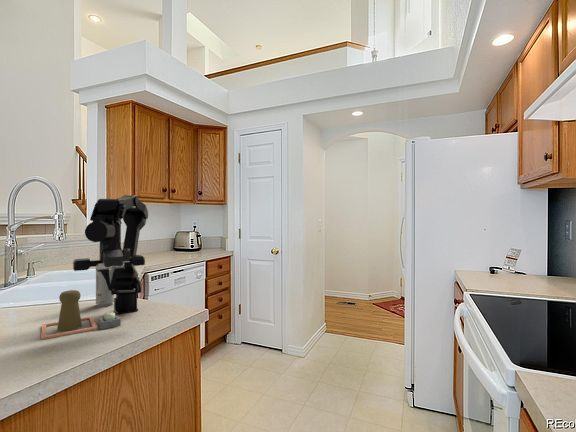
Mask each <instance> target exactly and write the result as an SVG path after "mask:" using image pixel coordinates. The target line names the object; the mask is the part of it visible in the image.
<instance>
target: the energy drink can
mask: <svg viewBox="0 0 576 432" xmlns="http://www.w3.org/2000/svg"><path fill="white" fill-rule="evenodd" d="M111 267H112V266H111ZM111 267H107V268H108V269H109V278H110V277H111ZM114 298H115V294H114V295H111V291H109V290H108V288H107V285H106V282H105V279H104V277H103V275H102V273H101V272H97V271H96V270H95V304H96V305H97V307H109V306H112V305H114Z"/></svg>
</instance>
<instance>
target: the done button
mask: <svg viewBox="0 0 576 432" xmlns="http://www.w3.org/2000/svg"><path fill="white" fill-rule="evenodd" d="M115 315H116V312H107V313H104V317H105V321H108V320H114V319H115Z"/></svg>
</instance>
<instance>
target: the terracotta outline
mask: <svg viewBox="0 0 576 432" xmlns="http://www.w3.org/2000/svg"><path fill="white" fill-rule="evenodd" d="M88 320H89V323H90V325H91V327H85V328H78V329H75V330H71V331H62V332H57V333H51V334H47V327H51V326H58V322H59V321H54V322H49V323H42V324H41V335H40V336H41V340H42V341H43V340H47V339H52V338H57V337H62V336H69V335H73V334H74V335H76V334H80V333H85V332H90V331H95V330H98V325H97V323H96V321H95V319H94V317H93V315H91V316H86V317H81V322H82V321H88Z"/></svg>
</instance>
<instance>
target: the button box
mask: <svg viewBox="0 0 576 432" xmlns="http://www.w3.org/2000/svg"><path fill="white" fill-rule="evenodd" d="M98 322H99V323H98V324H99V327H100V329H101V330H105V329H109V328H117V327H120V326H121V318H120V316H119V314H117V315H116V314H115V319H114V320H108V321H105V316H104V317H103V316H102V317H99V319H98Z"/></svg>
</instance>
